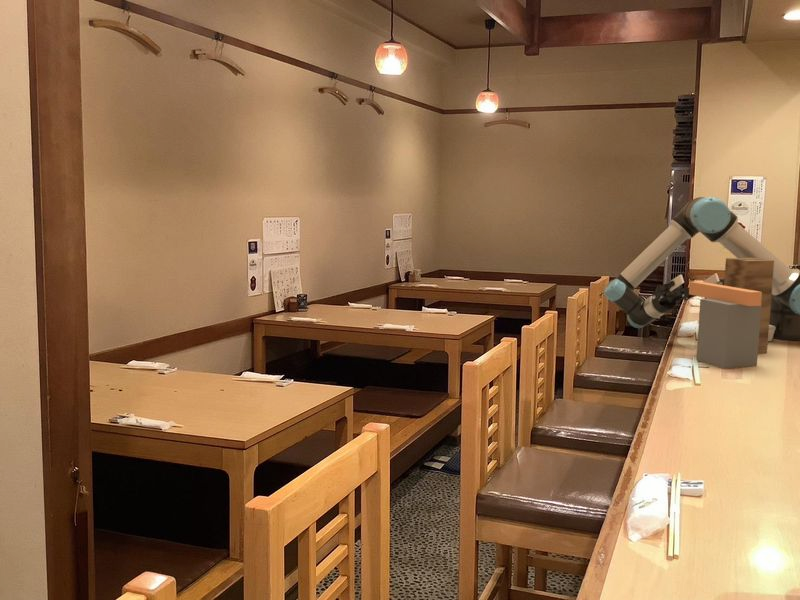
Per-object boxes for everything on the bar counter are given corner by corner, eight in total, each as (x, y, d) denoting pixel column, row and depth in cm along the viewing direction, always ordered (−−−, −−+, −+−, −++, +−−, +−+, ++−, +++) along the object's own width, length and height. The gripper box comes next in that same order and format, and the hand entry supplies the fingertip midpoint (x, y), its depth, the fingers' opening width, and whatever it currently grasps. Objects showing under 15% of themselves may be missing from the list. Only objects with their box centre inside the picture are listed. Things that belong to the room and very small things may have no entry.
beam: (760, 305, 222) (762, 291, 222) (749, 306, 221) (750, 292, 221) (699, 293, 247) (700, 281, 246) (688, 294, 245) (689, 281, 245)
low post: (756, 366, 230) (761, 303, 227) (724, 368, 226) (728, 304, 223) (727, 357, 241) (732, 297, 239) (696, 360, 237) (700, 299, 235)
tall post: (766, 353, 249) (774, 260, 244) (741, 355, 245) (748, 261, 241) (743, 347, 258) (750, 257, 254) (719, 348, 255) (725, 258, 250)
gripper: (693, 312, 264) (735, 287, 246) (632, 315, 256) (670, 290, 238) (687, 291, 267) (728, 266, 248) (626, 294, 259) (663, 268, 240)
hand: (699, 277), depth 243 cm, fingers open, 13 cm apart
